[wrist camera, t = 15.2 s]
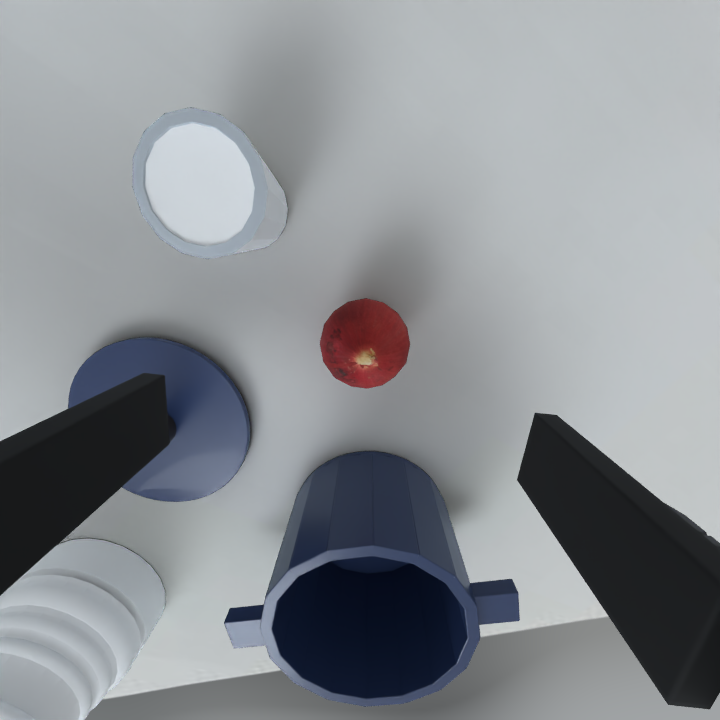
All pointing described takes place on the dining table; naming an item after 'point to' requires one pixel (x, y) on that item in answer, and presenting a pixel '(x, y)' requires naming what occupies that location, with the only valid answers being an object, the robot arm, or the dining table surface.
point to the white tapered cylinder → (206, 186)
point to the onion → (364, 343)
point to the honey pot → (74, 629)
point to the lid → (177, 415)
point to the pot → (371, 587)
